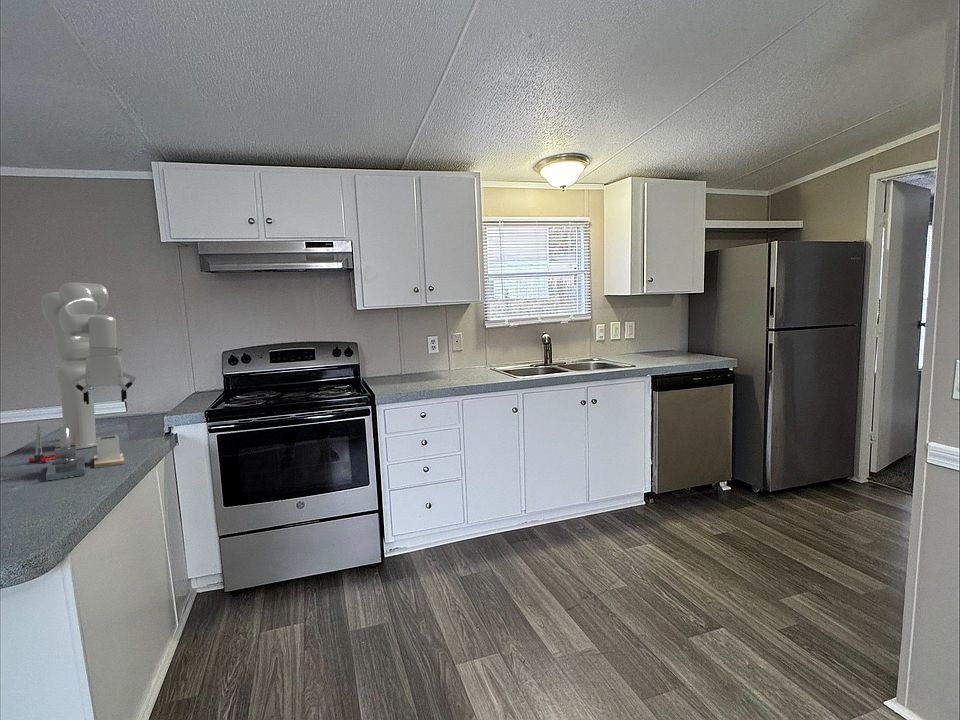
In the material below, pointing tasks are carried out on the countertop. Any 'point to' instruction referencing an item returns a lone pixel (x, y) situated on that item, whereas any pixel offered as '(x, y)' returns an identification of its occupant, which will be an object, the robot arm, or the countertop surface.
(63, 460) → the grey peg stand
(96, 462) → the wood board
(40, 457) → the tow hook
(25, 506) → the countertop surface
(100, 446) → the white hollow square block
